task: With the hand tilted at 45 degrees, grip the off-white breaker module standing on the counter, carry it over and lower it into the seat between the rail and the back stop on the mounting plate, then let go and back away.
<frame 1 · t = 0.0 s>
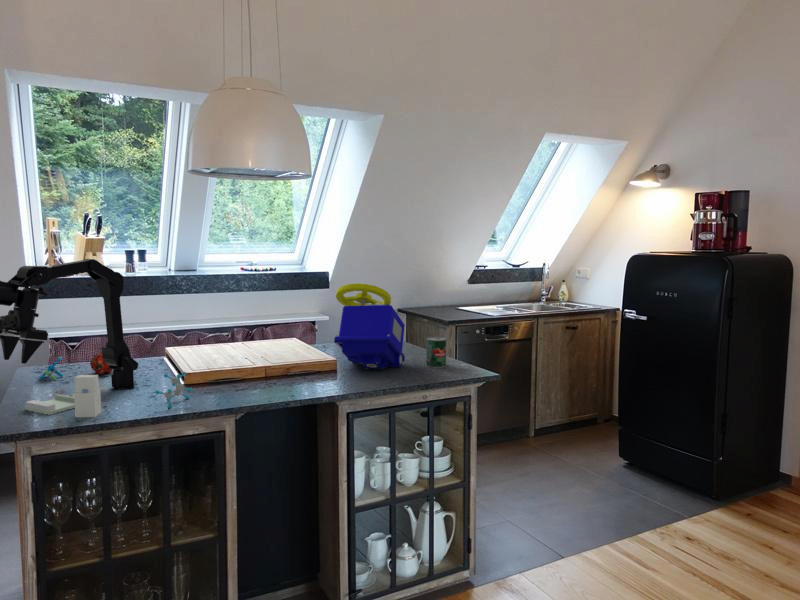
hand: (14, 361, 176), 15 cm above the worktop, tool pointing down, fingers open, 9 cm apart
canned tomato: (436, 366, 242), on the worktop
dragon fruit: (103, 374, 227), on the worktop
molecular model: (173, 402, 190), on the worktop
breaker module: (88, 414, 177), on the worktop
blue green branched piece: (51, 378, 219), on the worktop
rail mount: (54, 406, 184), on the worktop
control box: (367, 365, 242), on the worktop
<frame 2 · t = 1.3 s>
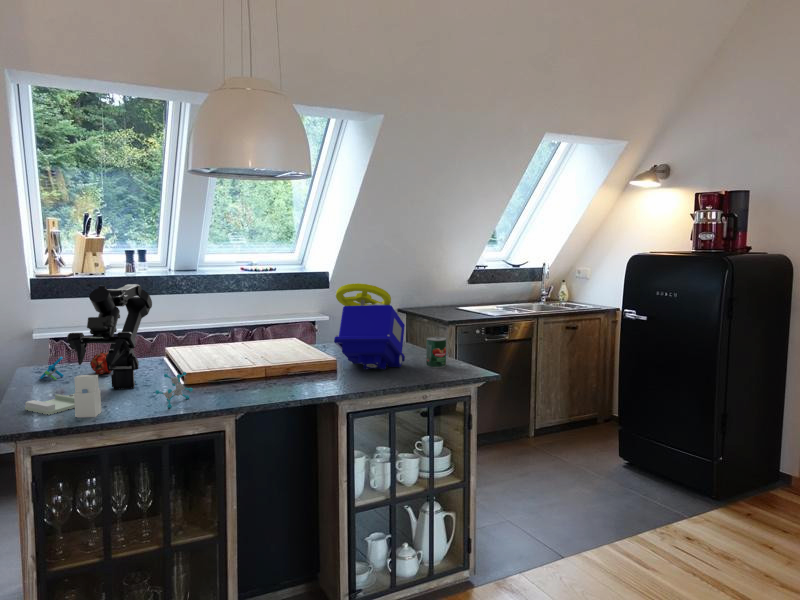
hand: (95, 363, 183), 13 cm above the worktop, tool tilted 45°, fingers open, 9 cm apart
nothing on the worktop moved.
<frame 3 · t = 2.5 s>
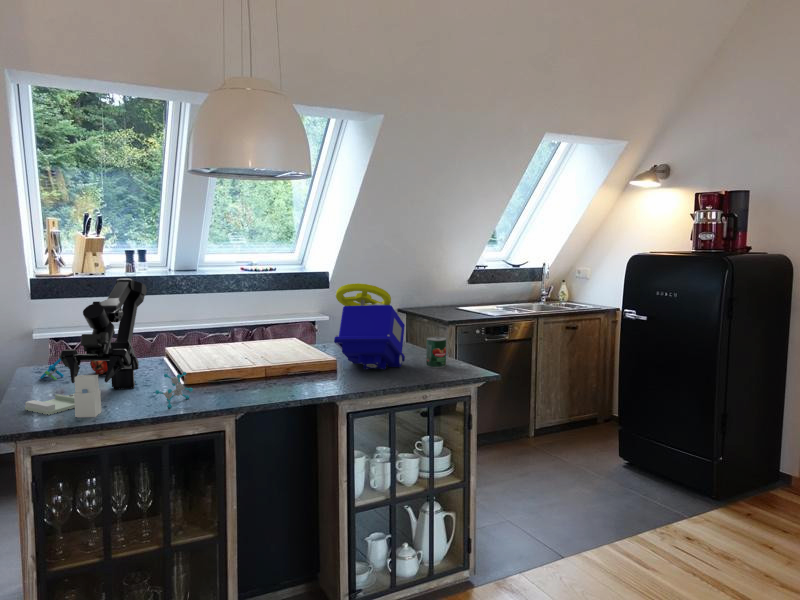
hand: (89, 382, 177), 9 cm above the worktop, tool tilted 45°, fingers open, 9 cm apart
nothing on the worktop moved.
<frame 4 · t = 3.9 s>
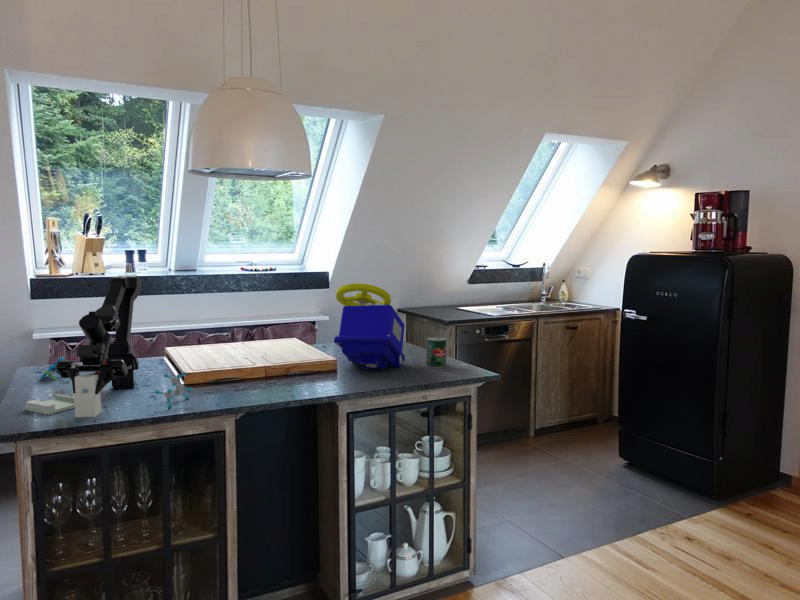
hand: (85, 393, 175), 7 cm above the worktop, tool tilted 45°, fingers closed on breaker module, 5 cm apart
breaker module: (88, 414, 177), on the worktop, touching gripper
everything else where it was.
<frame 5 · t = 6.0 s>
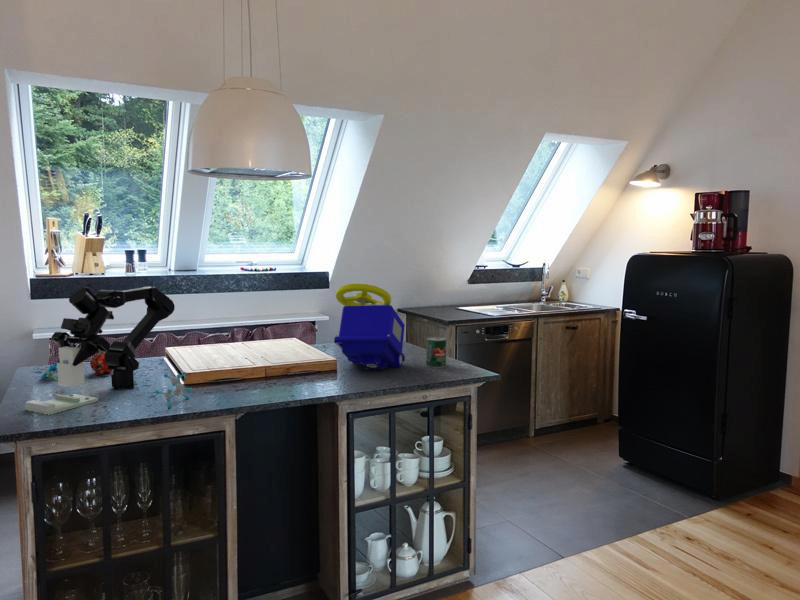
hand: (66, 364, 185), 13 cm above the worktop, tool tilted 45°, fingers closed on breaker module, 5 cm apart
breaker module: (71, 384, 187), point 6 cm above the worktop, touching gripper
everything else where it was.
when the fingers open (8 cm above the worktop, at t = 8.4 s): breaker module stays where it is, resting on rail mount.
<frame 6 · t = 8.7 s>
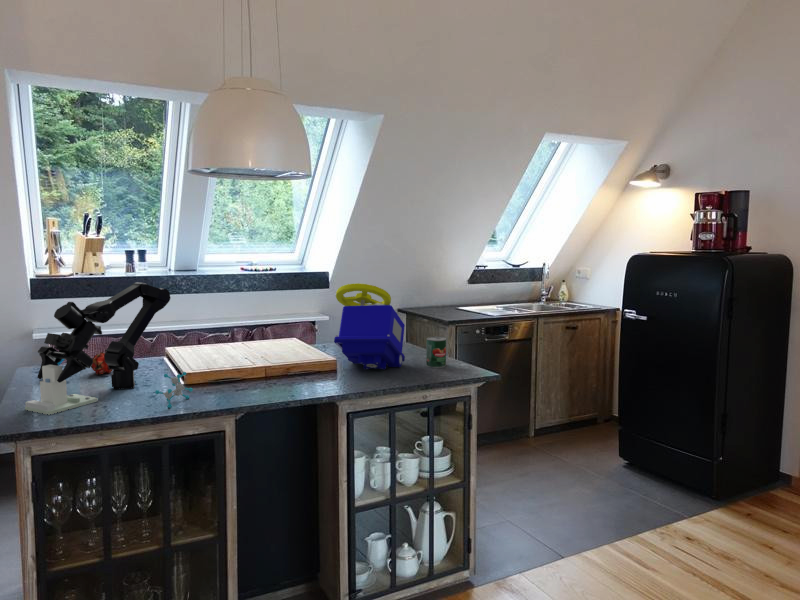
hand: (48, 380, 182), 9 cm above the worktop, tool tilted 45°, fingers open, 9 cm apart
breaker module: (54, 403, 184), point 1 cm above the worktop, touching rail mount
everything else where it was.
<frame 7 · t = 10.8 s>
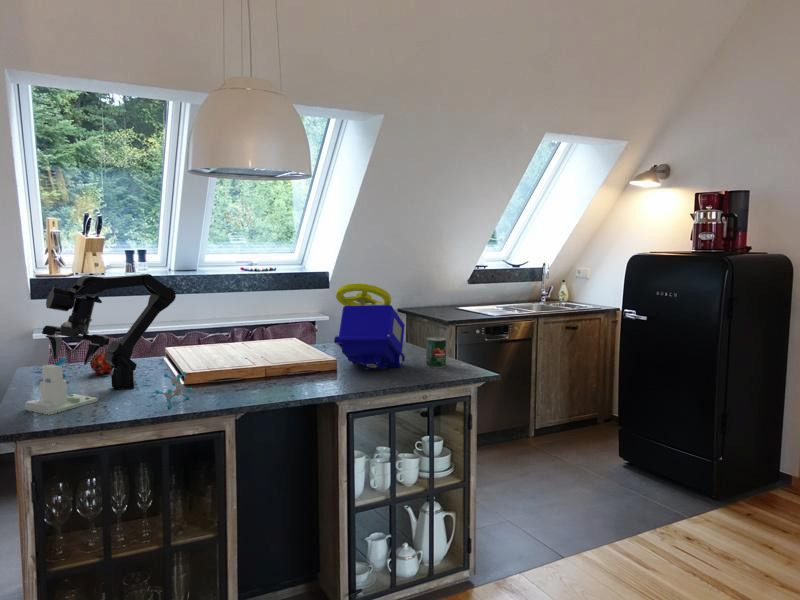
hand: (70, 361, 194), 11 cm above the worktop, tool tilted 15°, fingers open, 9 cm apart
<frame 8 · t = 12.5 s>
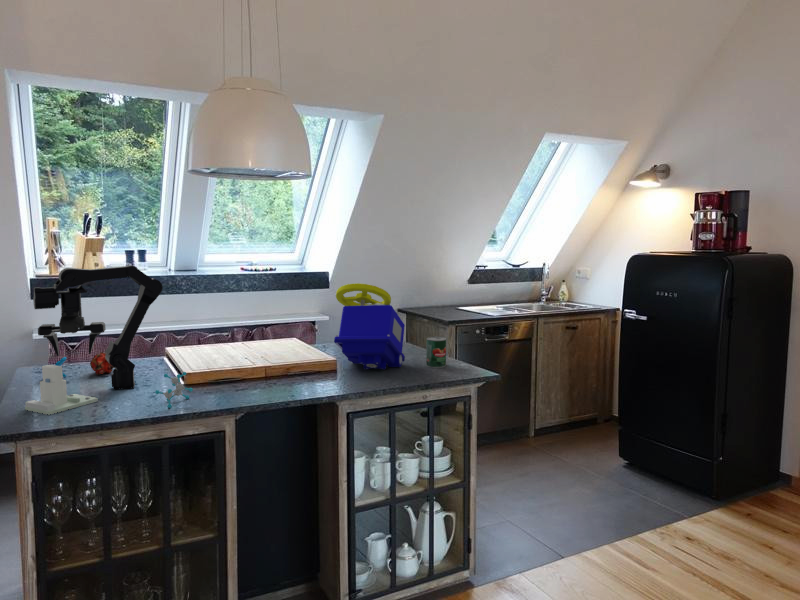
hand: (74, 354, 197), 13 cm above the worktop, tool pointing down, fingers open, 9 cm apart
at the end: breaker module 0.1 cm off-centre on the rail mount, point 1.0 cm above the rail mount's base; breaker module tilted 0°; breaker module touching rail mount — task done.
